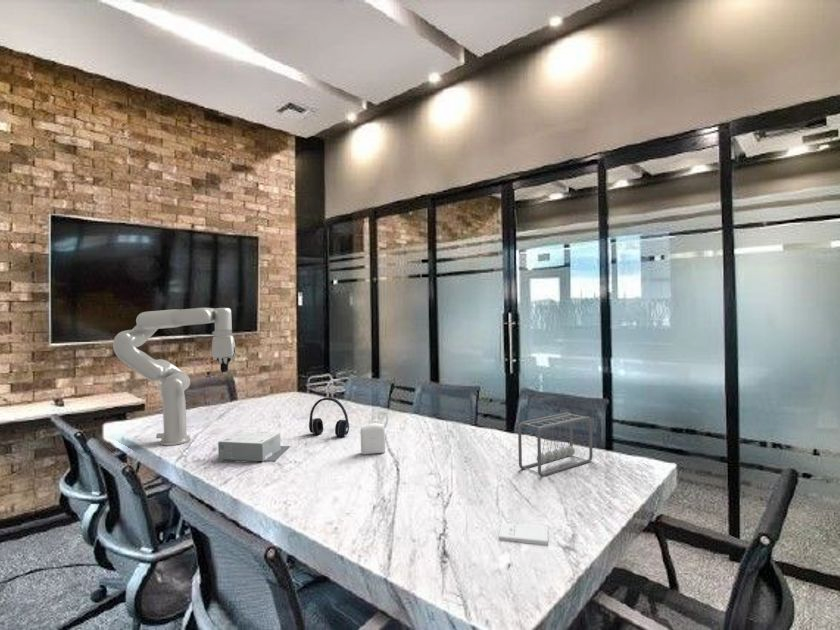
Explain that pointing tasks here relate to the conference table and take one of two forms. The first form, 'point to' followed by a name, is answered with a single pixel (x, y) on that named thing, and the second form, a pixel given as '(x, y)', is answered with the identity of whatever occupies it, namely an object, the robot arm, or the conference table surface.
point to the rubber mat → (272, 458)
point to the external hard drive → (524, 533)
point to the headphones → (317, 423)
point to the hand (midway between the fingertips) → (224, 371)
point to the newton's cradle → (555, 453)
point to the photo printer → (372, 438)
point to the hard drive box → (249, 446)
